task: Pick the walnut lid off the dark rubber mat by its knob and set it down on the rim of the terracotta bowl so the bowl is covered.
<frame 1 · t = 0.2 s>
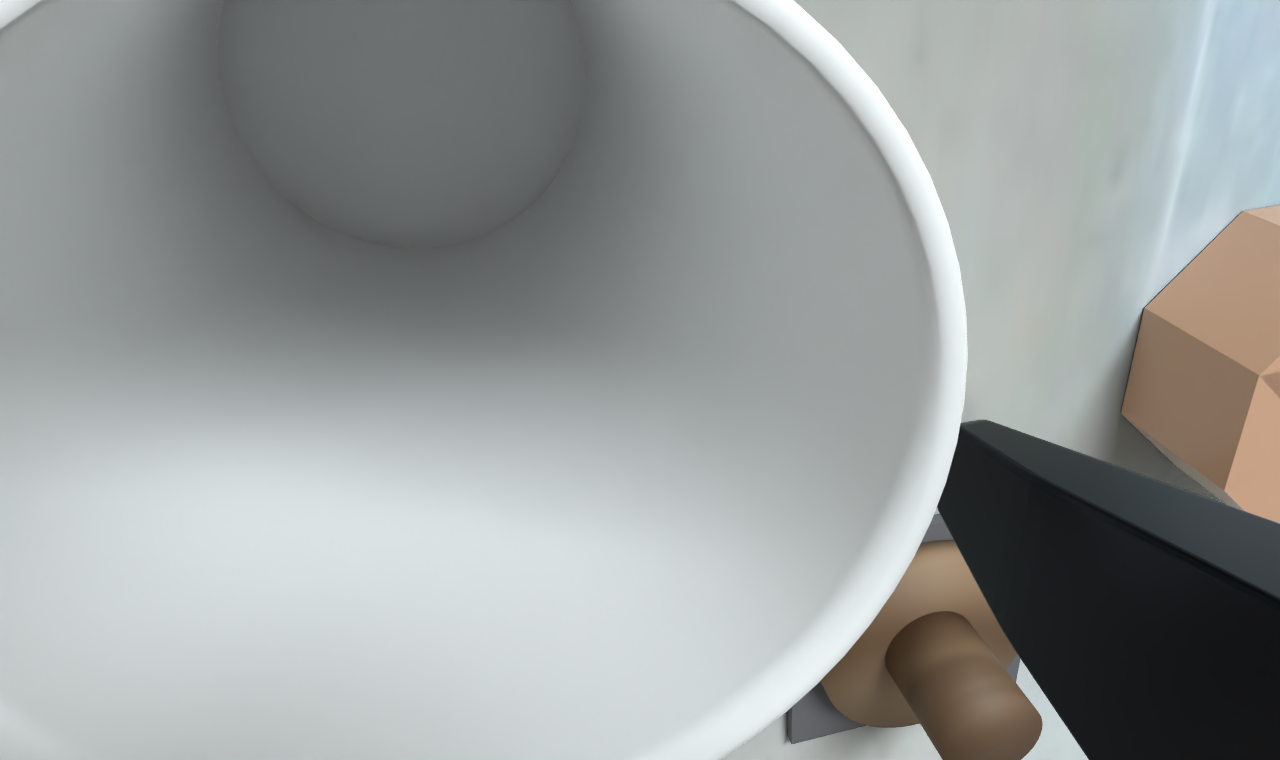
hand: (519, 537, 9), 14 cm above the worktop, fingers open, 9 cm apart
lid: (914, 626, 32), resting on mat
mat: (909, 619, 33), on the worktop
cup: (410, 74, 20), on the worktop
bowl: (1257, 338, 30), on the worktop
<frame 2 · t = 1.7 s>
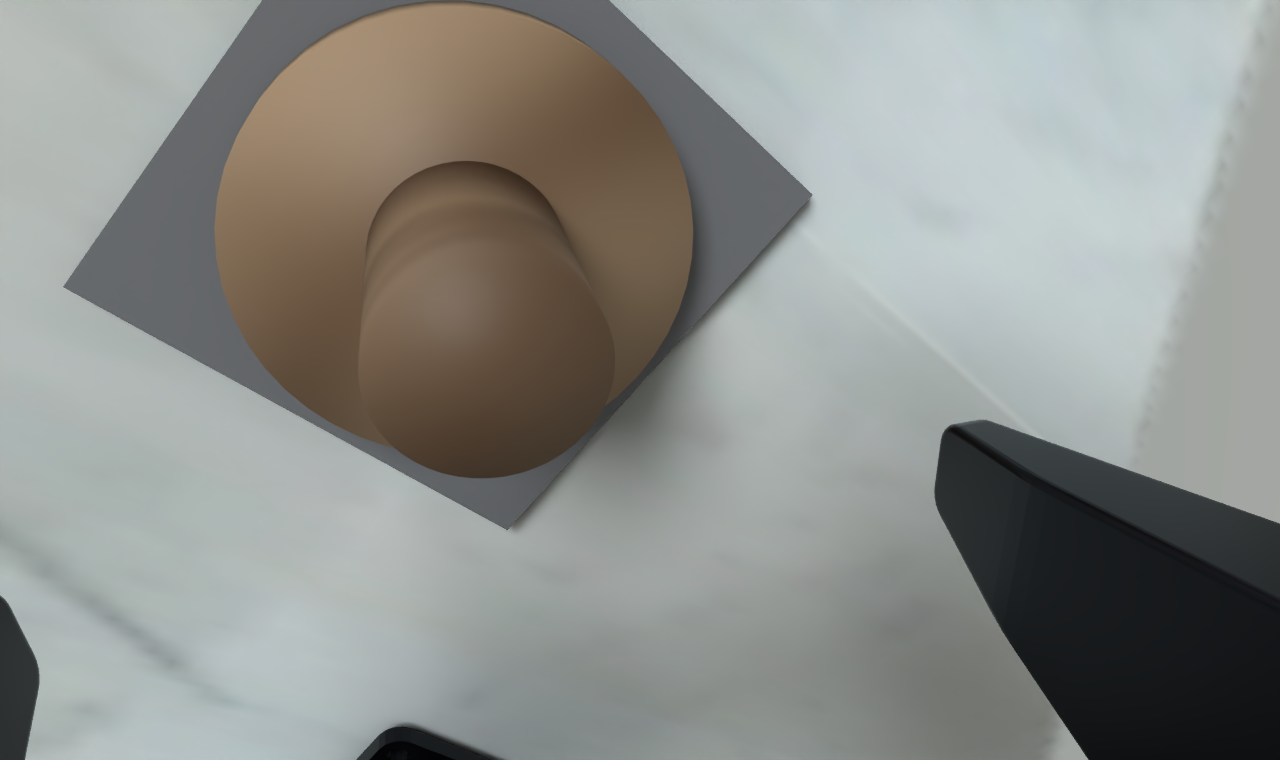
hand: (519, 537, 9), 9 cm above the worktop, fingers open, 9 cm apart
lid: (464, 237, 16), resting on mat
mat: (463, 229, 16), on the worktop
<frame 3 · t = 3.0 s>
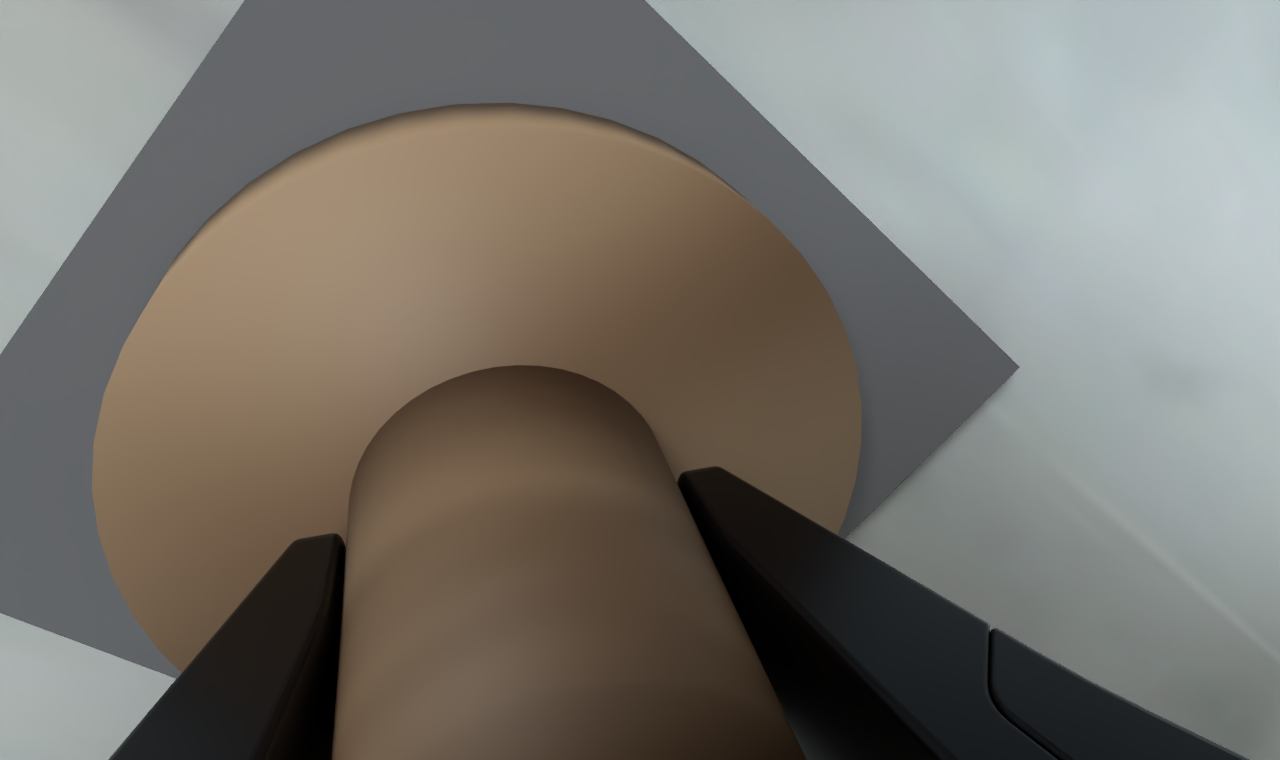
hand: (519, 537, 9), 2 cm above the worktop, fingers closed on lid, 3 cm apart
lid: (503, 452, 10), resting on mat, touching gripper
mat: (499, 434, 11), on the worktop
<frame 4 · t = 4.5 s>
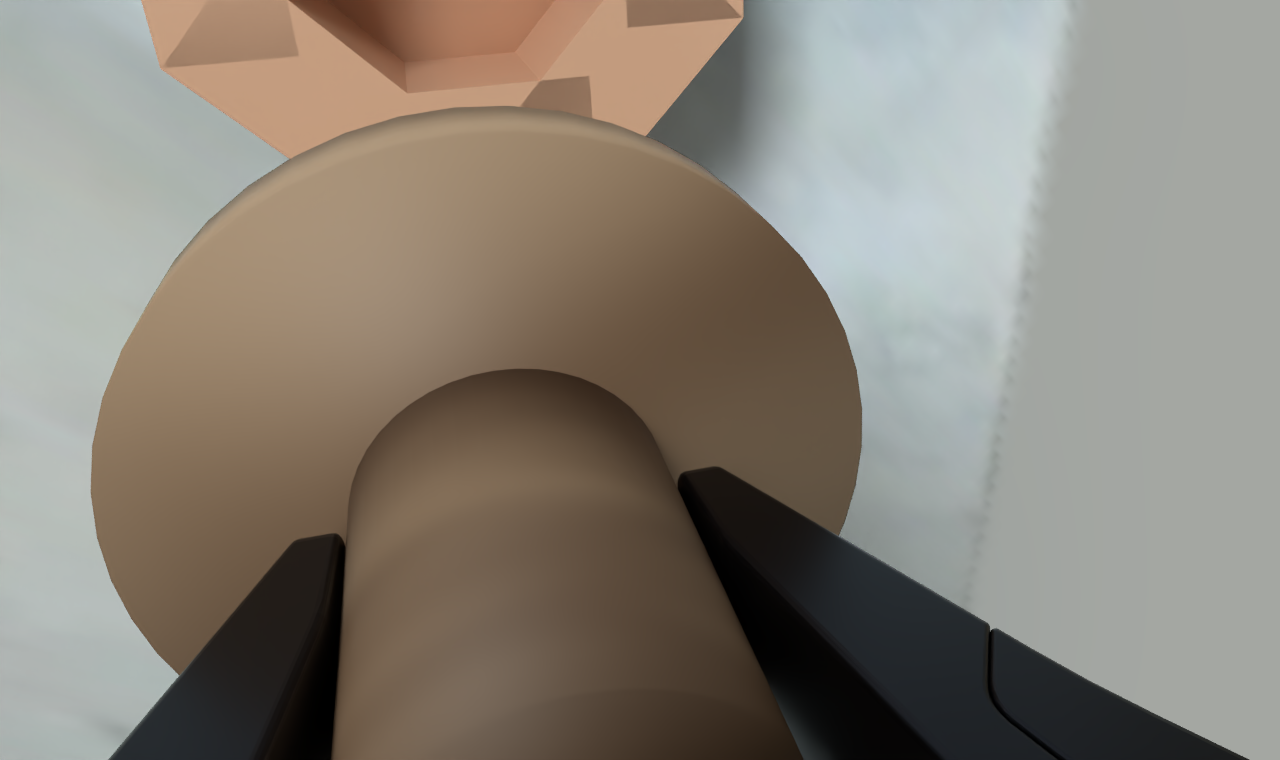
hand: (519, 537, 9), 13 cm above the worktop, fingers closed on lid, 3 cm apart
lid: (503, 455, 10), point 11 cm above the worktop, touching gripper
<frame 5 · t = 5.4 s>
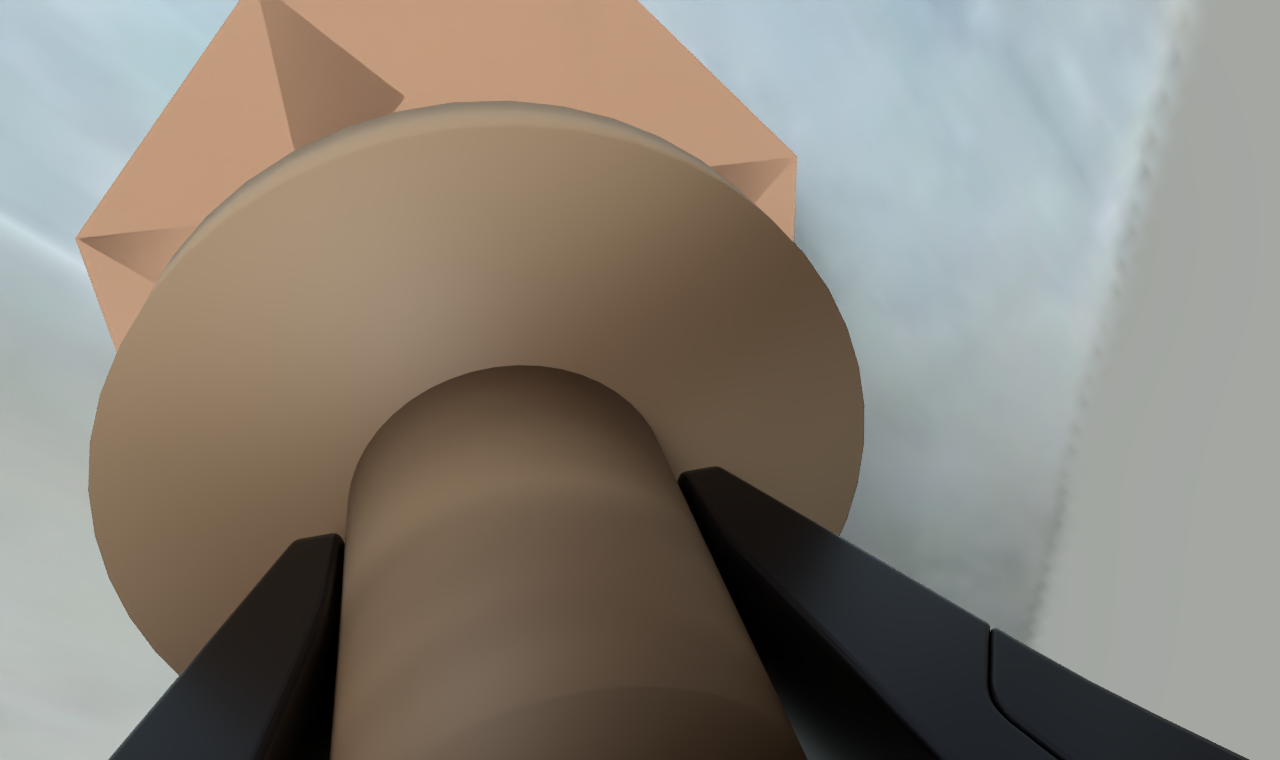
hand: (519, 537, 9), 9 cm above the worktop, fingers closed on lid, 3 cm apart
lid: (503, 453, 10), point 8 cm above the worktop, touching gripper
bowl: (460, 224, 17), on the worktop
when the fingers open (7 cm above the worktop, at t = 6.0 s): lid drops 1 cm, resting on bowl.
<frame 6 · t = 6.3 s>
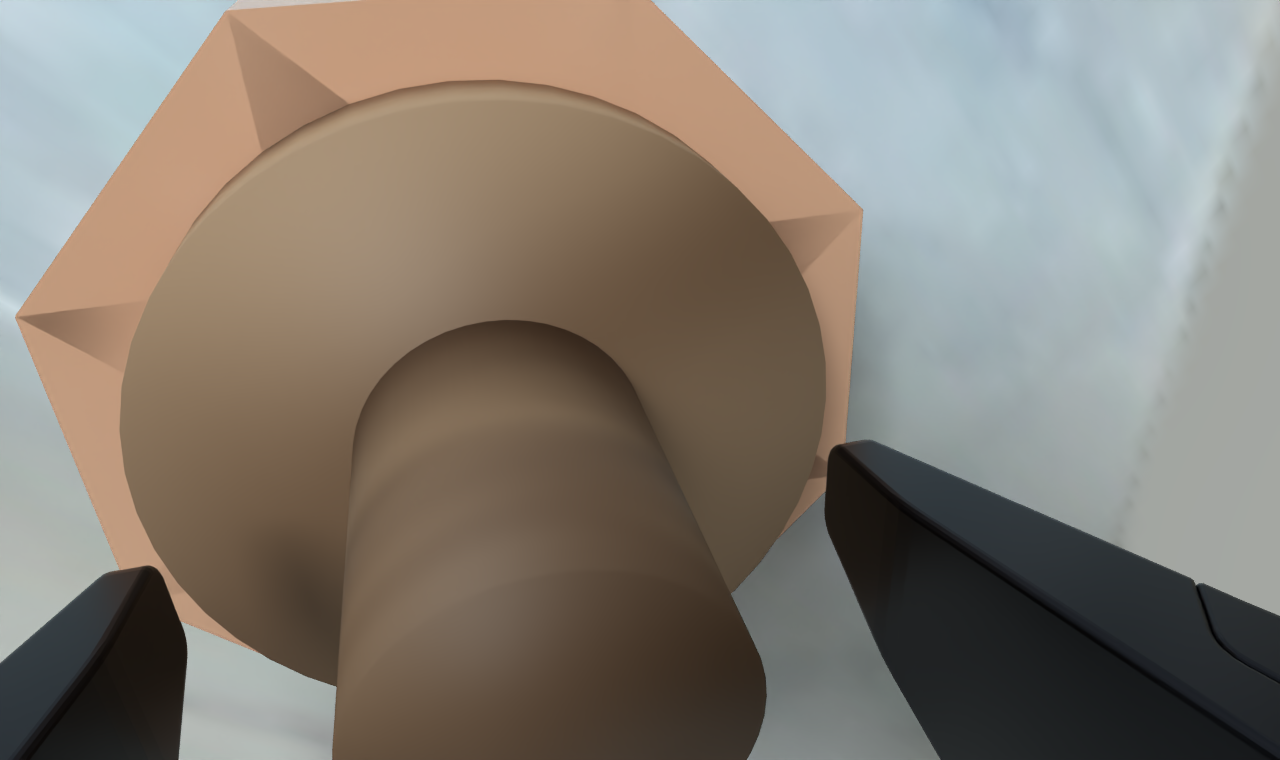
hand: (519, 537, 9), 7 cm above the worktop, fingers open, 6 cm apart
lid: (495, 407, 11), point 4 cm above the worktop, touching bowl
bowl: (468, 272, 15), on the worktop
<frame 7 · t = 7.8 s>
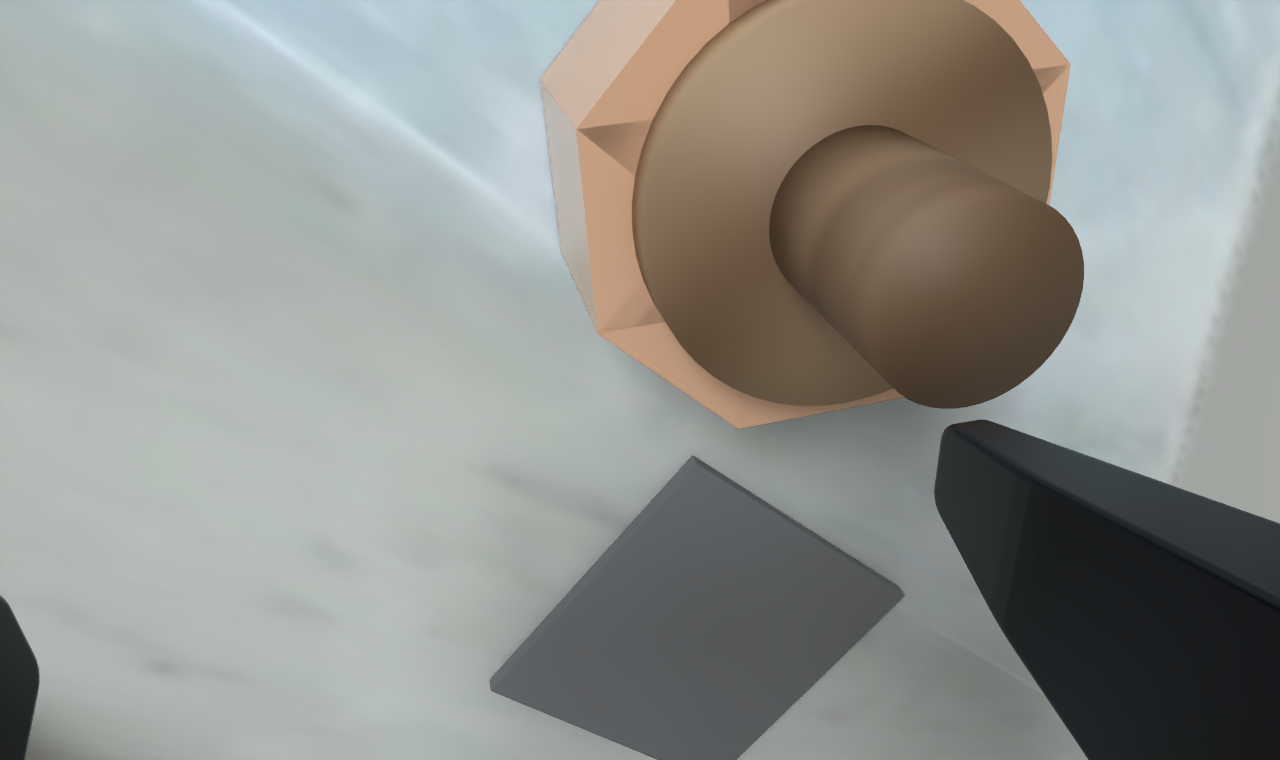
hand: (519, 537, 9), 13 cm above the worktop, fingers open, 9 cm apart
lid: (832, 200, 17), point 4 cm above the worktop, touching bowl
mat: (701, 631, 28), on the worktop
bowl: (752, 141, 21), on the worktop
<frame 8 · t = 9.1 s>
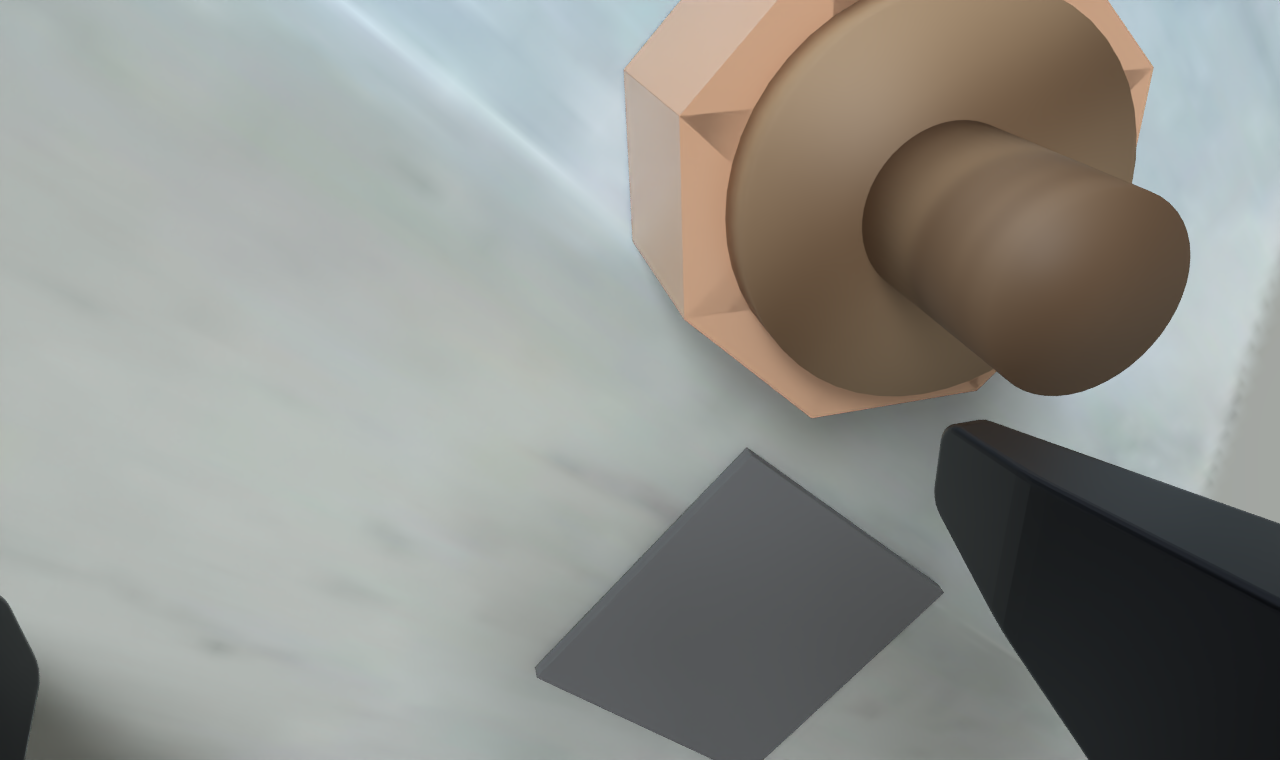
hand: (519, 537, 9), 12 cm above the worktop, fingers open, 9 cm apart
lid: (918, 194, 17), point 4 cm above the worktop, touching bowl
mat: (744, 624, 28), on the worktop
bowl: (824, 137, 21), on the worktop
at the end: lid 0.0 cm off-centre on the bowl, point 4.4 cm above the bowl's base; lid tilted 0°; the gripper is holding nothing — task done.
